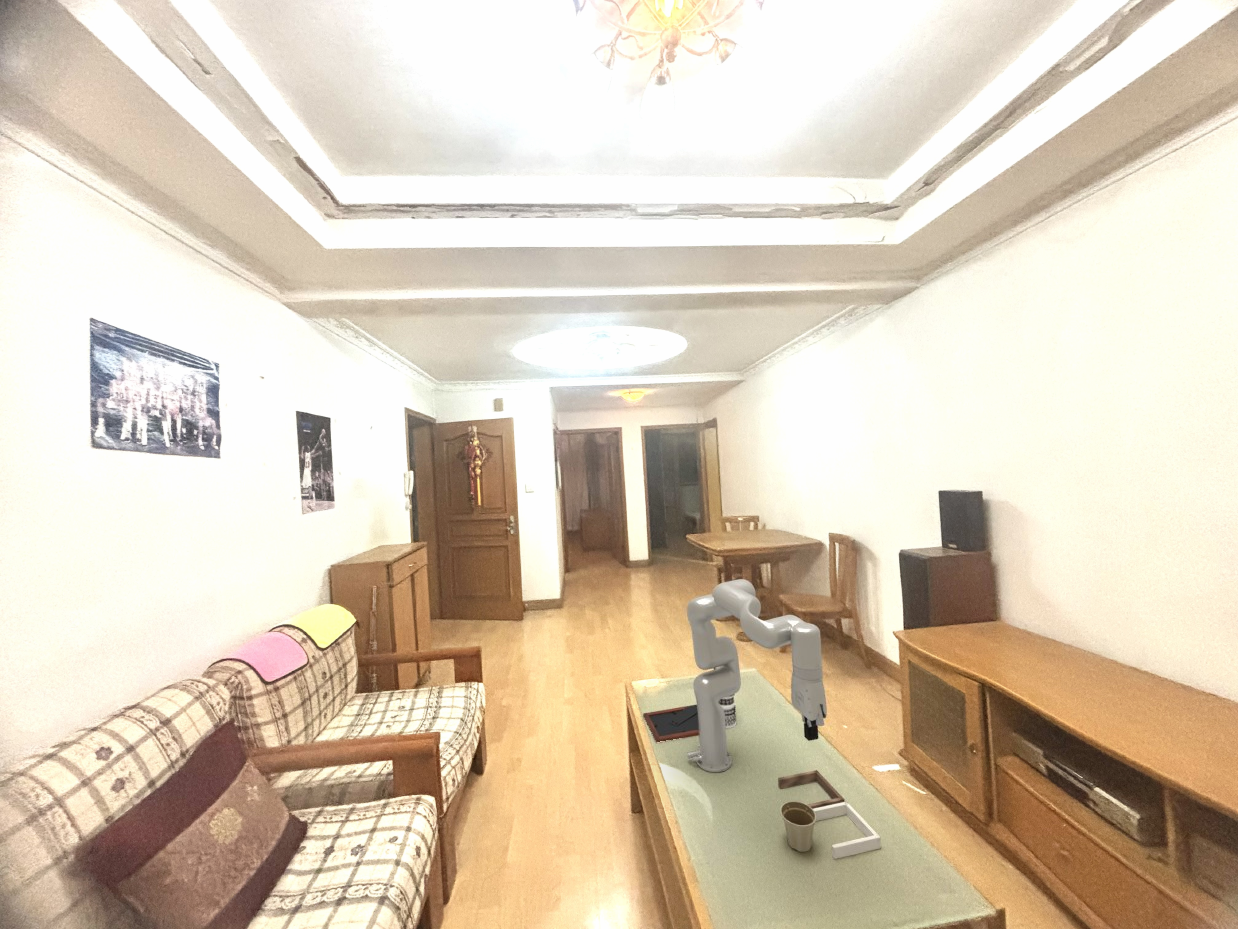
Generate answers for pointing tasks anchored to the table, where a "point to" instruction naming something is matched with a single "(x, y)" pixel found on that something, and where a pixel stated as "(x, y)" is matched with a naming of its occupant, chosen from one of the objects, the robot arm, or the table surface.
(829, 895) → the table surface
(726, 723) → the decorative candle
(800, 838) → the flower pot
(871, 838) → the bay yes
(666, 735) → the picture frame
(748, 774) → the table surface
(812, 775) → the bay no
